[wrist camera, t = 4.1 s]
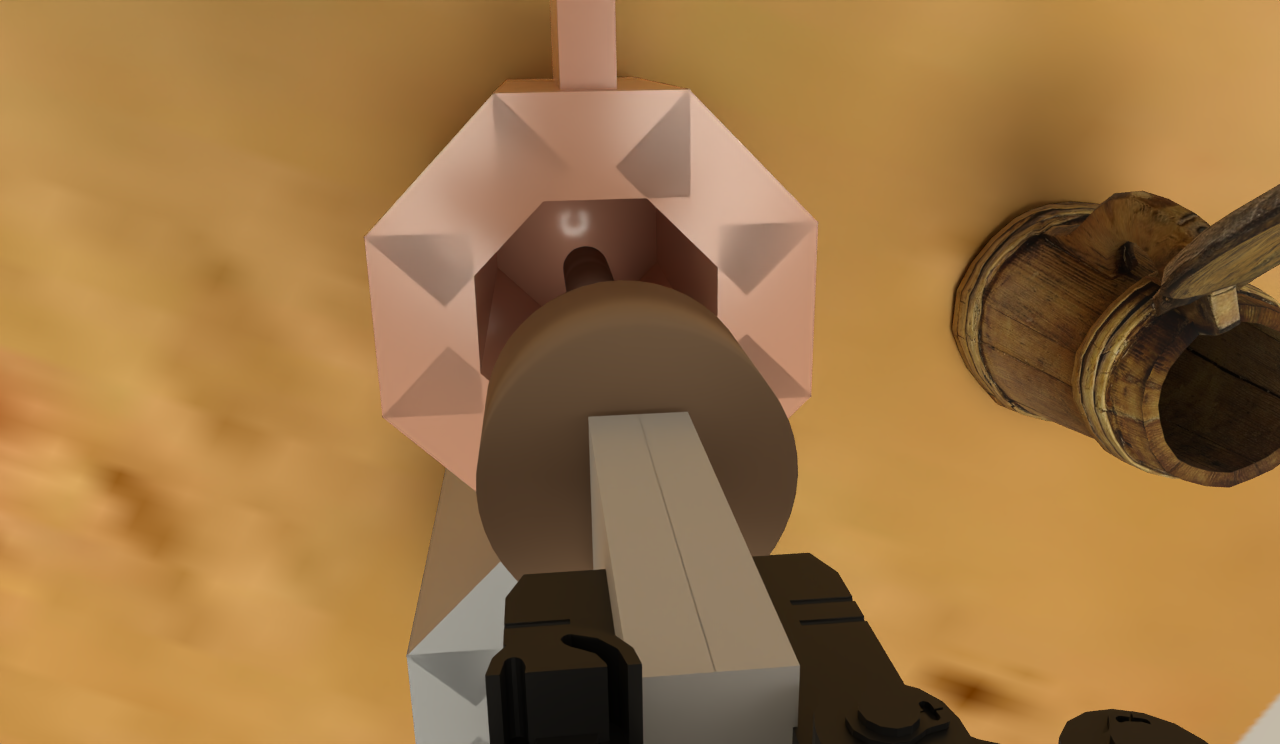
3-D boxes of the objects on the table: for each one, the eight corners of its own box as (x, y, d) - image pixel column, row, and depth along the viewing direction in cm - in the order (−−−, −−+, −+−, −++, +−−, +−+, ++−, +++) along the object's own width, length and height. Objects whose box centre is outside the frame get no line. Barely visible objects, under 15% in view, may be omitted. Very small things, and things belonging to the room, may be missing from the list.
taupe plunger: (499, 189, 30) (464, 334, 14) (665, 184, 30) (803, 320, 15) (509, 349, 31) (486, 635, 16) (666, 342, 32) (792, 614, 16)
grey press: (441, 382, 39) (395, 549, 26) (716, 369, 40) (806, 524, 27) (465, 677, 43) (436, 952, 30) (713, 659, 44) (790, 916, 31)
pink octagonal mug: (411, 1, 35) (336, -32, 22) (719, -3, 36) (829, -36, 23) (440, 370, 39) (393, 533, 26) (716, 358, 40) (807, 508, 27)
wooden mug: (1106, 56, 38) (1572, 58, 21) (1178, 362, 42) (1613, 570, 25) (892, 148, 38) (1181, 224, 21) (985, 443, 43) (1288, 703, 26)
